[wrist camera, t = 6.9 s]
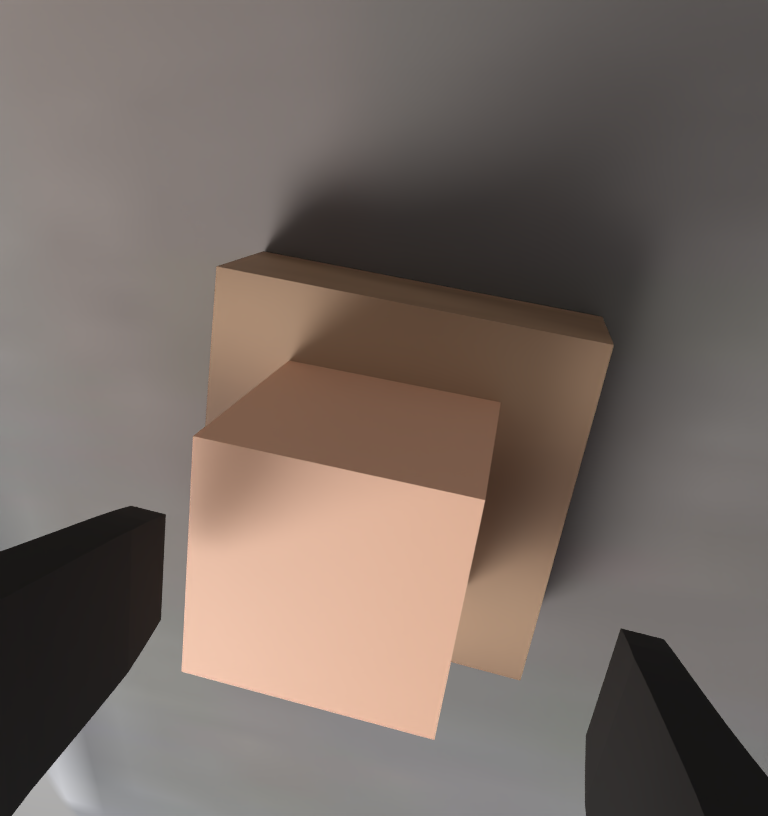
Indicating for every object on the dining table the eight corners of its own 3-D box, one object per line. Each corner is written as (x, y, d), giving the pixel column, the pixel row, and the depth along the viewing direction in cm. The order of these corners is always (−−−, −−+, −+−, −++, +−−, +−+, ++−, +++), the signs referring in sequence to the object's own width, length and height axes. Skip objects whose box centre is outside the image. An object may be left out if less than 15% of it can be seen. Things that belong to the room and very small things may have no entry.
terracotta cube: (461, 589, 18) (434, 739, 13) (271, 543, 18) (181, 671, 14) (501, 402, 16) (485, 500, 11) (288, 360, 17) (192, 436, 12)
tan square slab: (522, 612, 21) (520, 680, 18) (236, 539, 22) (193, 593, 19) (602, 316, 18) (614, 345, 15) (263, 251, 19) (216, 266, 16)
